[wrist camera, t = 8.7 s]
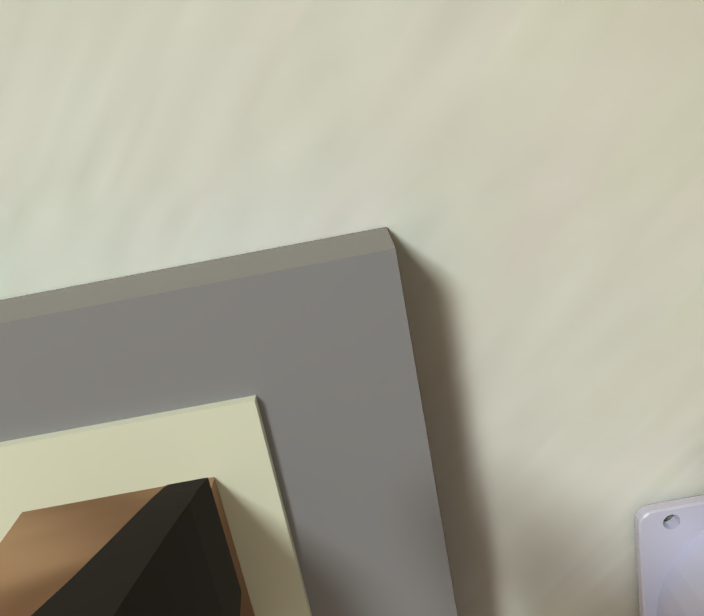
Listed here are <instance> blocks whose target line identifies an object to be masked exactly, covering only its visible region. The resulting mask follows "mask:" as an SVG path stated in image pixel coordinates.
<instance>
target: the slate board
mask: <svg viewBox="0 0 704 616" xmlns="http://www.w3.org/2000/svg"><path fill="white" fill-rule="evenodd" d="M207 477H208V478H211V477H215V480H216V484H217V487H218V491H219V494H220V498H221V501H222V504H223V508H224V511H225V515H226V518H227V522H228V525H229V528H230V532H231V535H232V539H233V542H234V546H235V549H236V552H237V556H238V559H239V563H240V566H241V570H242V573H243V576H244V580H245V583H246V587H247V590H248V594H249V597H250V600H251V604H252V607H253V611H254V614H255V616H457V610H456V604H455V598H454V592H453V586H452V580H451V574H450V568H449V562H448V556H447V550H446V544H445V539H444V533H443V527H442V521H441V515H440V509H439V503H438V497H437V491H436V485H435V479H434V473H433V467H432V462H431V456H430V450H429V444H428V438H427V432H426V426H425V420H424V414H423V408H422V402H421V396H420V390H419V385H418V379H417V373H416V367H415V361H414V355H413V349H412V343H411V337H410V331H409V325H408V319H407V313H406V308H405V302H404V296H403V290H402V284H401V278H400V272H399V266H398V260H397V254H396V248H395V246H394V244H393V241H392V239H391V236H390V234H389V232H388V229H387V227H383V228H378V229H373V230H368V231H362V232H357V233H352V234H346V235H341V236H336V237H331V238H325V239H320V240H315V241H310V242H304V243H299V244H294V245H289V246H283V247H278V248H273V249H267V250H262V251H257V252H252V253H246V254H241V255H236V256H231V257H225V258H220V259H215V260H210V261H204V262H199V263H194V264H188V265H183V266H178V267H173V268H167V269H162V270H157V271H152V272H146V273H141V274H136V275H130V276H125V277H120V278H115V279H109V280H104V281H99V282H94V283H88V284H83V285H78V286H73V287H67V288H62V289H57V290H51V291H46V292H41V293H36V294H30V295H25V296H20V297H15V298H9V299H4V300H0V542H1V541H2V540H3V538H4V537H5V535H6V534H7V533H8V531H9V530H10V528H11V527H12V526H13V524H14V523H15V521H16V520H17V519H18V517H19V516H20V514H21V513H22V512H26V511H31V510H37V509H42V508H47V507H53V506H58V505H64V504H69V503H75V502H80V501H86V500H91V499H97V498H102V497H107V496H113V495H118V494H124V493H129V492H135V491H140V490H146V489H151V488H156V487H162V486H166V485H168V484H174V483H179V482H185V481H190V480H196V479H201V478H207Z"/></svg>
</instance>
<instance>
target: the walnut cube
mask: <svg viewBox="0 0 704 616" xmlns="http://www.w3.org/2000/svg"><path fill="white" fill-rule="evenodd" d="M208 479H209V482H210V486H211V489H212V493H213V496H214V499H215V503H216V506H217V510H218V513H219V517H220V520H221V523H222V527H223V530H224V534H225V537H226V541H227V544H228V547H229V551H230V554H231V558H232V561H233V564H234V568H235V571H236V575H237V578H238V582H239V585H240V588H241V608H240V616H255V614H254V611H253V607H252V604H251V600H250V597H249V594H248V590H247V587H246V583H245V580H244V576H243V573H242V570H241V566H240V563H239V559H238V556H237V552H236V549H235V546H234V542H233V539H232V535H231V532H230V528H229V525H228V522H227V518H226V515H225V511H224V508H223V504H222V501H221V498H220V494H219V491H218V487H217V484H216V480H215V477H211V478H208ZM164 487H165V486H162V487H156V488H151V489H146V490H140V491H135V492H129V493H124V494H118V495H113V496H107V497H102V498H97V499H91V500H86V501H80V502H75V503H69V504H64V505H58V506H53V507H47V508H42V509H37V510H31V511H26V512H22V513H21V514H20V516H19V517H18V519H17V520H16V521H15V523H14V524H13V526H12V527H11V528H10V530H9V531H8V533H7V534H6V535H5V537H4V538H3V540H2V541H1V542H0V616H31V615H32V614H33V613H34V612H35V611H36V610H38V609H39V608H40V607H41V606H42V605H43V604H44V603H45V602H46V601H47V600H48V599H49V598H51V597H52V596H53V595H54V594H55V593H56V592H57V591H58V590H59V589H60V588H61V587H62V586H64V585H65V584H66V583H67V582H68V581H69V580H70V579H71V578H72V577H73V576H74V575H75V574H76V573H77V572H78V571H79V570H80V569H81V568H82V567H83V566H84V565H85V564H86V563H87V562H88V561H89V560H90V559H91V558H92V557H93V556H94V555H95V554H96V553H97V552H98V551H99V550H100V549H101V548H102V547H103V546H104V545H105V544H106V543H107V542H108V541H109V540H110V539H111V538H112V537H113V536H114V535H115V534H116V533H117V532H118V531H119V530H120V529H121V528H122V527H123V526H124V525H125V524H126V523H127V522H128V521H129V520H130V519H131V518H132V517H133V516H134V515H135V514H136V513H137V512H138V511H139V510H140V509H141V508H142V507H143V506H144V505H145V504H146V503H147V502H148V501H149V500H150V499H151V498H153V497H154V496H155V495H156V494H157V493H158V492H159V491H160V490H161V489H163V488H164Z"/></svg>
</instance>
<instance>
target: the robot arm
mask: <svg viewBox="0 0 704 616" xmlns="http://www.w3.org/2000/svg"><path fill="white" fill-rule="evenodd" d="M669 515H673V517H672V518H671V519H670V520H668V521H664V519H665V518H666V517H667V516H669ZM634 528H635V544H636V560H637V577H638V593H639V610H640V616H704V495H700V496H694V497H688V498H683V499H677V500H672V501H666V502H660V503H655V504H649V505H646V506H643V507H642V508H641V509H639V510H638V512H637V513H636V515H635V518H634ZM240 608H241V588H240V585H239V582H238V578H237V575H236V571H235V568H234V564H233V561H232V558H231V554H230V551H229V547H228V544H227V541H226V537H225V534H224V530H223V527H222V523H221V520H220V517H219V513H218V510H217V506H216V503H215V499H214V496H213V493H212V489H211V486H210V482H209V479H208V477H207V478H201V479H196V480H190V481H185V482H179V483H174V484H168V485H166V486H165V487H164V488H163V489H161V490H160V491H159V492H158V493H157V494H156V495H155V496H154V497H153V498H151V499H150V500H149V501H148V502H147V503H146V504H145V505H144V506H143V507H142V508H141V509H140V510H139V511H138V512H137V513H136V514H135V515H134V516H133V517H132V518H131V519H130V520H129V521H128V522H127V523H126V524H125V525H124V526H123V527H122V528H121V529H120V530H119V531H118V532H117V533H116V534H115V535H114V536H113V537H112V538H111V539H110V540H109V541H108V542H107V543H106V544H105V545H104V546H103V547H102V548H101V549H100V550H99V551H98V552H97V553H96V554H95V555H94V556H93V557H92V558H91V559H90V560H89V561H88V562H87V563H86V564H85V565H84V566H83V567H82V568H81V569H80V570H79V571H78V572H77V573H76V574H75V575H74V576H73V577H72V578H71V579H70V580H69V581H68V582H67V583H66V584H65V585H64V586H62V587H61V588H60V589H59V590H58V591H57V592H56V593H55V594H54V595H53V596H52V597H51V598H49V599H48V600H47V601H46V602H45V603H44V604H43V605H42V606H41V607H40V608H39V609H38V610H36V611H35V612H34V613H33V614H32V615H31V616H240Z"/></svg>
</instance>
